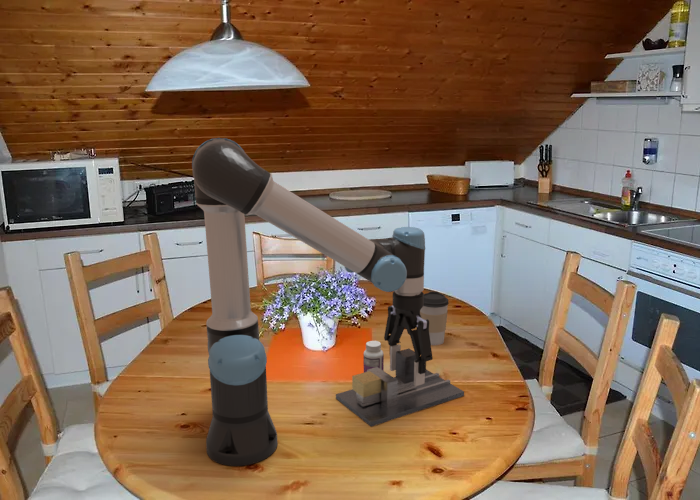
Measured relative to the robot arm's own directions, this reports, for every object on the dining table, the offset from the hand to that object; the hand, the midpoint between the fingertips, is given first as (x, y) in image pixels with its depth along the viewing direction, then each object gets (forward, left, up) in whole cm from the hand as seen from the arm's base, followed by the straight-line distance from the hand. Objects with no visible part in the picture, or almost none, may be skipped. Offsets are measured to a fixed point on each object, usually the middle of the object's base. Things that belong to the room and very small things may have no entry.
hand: (406, 376), depth 153 cm
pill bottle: (-1, +13, -5) cm, 14 cm away
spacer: (-12, 0, -1) cm, 12 cm away
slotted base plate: (-2, 0, -5) cm, 5 cm away
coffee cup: (+28, +24, -5) cm, 38 cm away
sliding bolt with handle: (-6, 0, -4) cm, 7 cm away
